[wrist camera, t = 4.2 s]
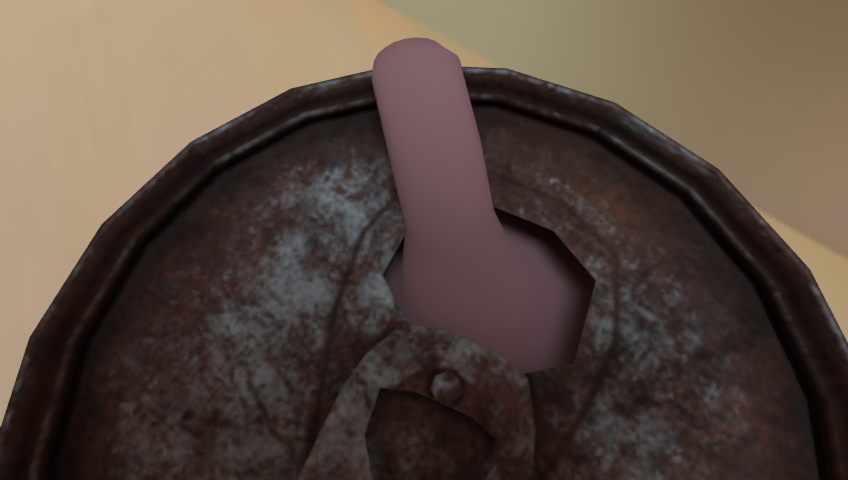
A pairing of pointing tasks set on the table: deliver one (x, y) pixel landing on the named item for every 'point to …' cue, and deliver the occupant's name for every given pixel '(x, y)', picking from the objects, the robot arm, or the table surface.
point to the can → (433, 303)
